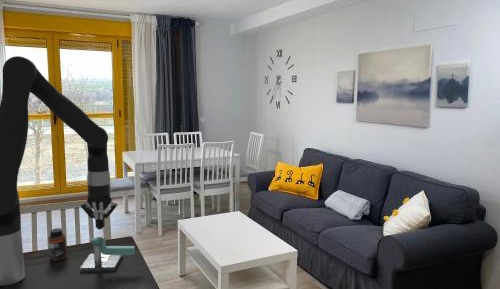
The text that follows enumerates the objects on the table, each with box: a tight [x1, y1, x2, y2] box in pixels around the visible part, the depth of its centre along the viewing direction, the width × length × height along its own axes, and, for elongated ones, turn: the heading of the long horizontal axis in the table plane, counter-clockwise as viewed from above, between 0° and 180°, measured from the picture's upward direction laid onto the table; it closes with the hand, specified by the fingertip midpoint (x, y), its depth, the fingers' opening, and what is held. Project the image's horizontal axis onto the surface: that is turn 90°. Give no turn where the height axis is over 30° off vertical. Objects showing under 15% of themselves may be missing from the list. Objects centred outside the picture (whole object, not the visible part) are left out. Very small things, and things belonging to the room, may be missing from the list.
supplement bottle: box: [47, 227, 68, 262], centre depth 151 cm, size 6×6×11 cm
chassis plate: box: [79, 243, 124, 273], centre depth 147 cm, size 12×12×10 cm
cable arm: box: [90, 236, 136, 256], centre depth 142 cm, size 4×15×6 cm, turn 91°
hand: (100, 228), depth 145 cm, fingers closed
